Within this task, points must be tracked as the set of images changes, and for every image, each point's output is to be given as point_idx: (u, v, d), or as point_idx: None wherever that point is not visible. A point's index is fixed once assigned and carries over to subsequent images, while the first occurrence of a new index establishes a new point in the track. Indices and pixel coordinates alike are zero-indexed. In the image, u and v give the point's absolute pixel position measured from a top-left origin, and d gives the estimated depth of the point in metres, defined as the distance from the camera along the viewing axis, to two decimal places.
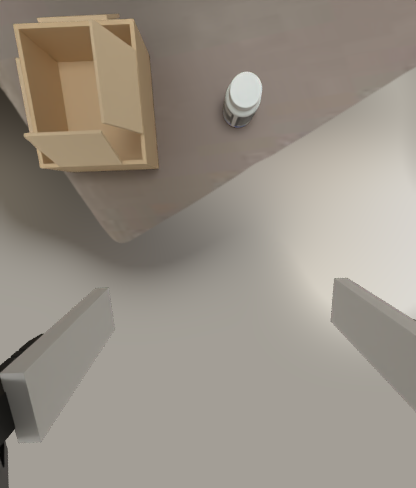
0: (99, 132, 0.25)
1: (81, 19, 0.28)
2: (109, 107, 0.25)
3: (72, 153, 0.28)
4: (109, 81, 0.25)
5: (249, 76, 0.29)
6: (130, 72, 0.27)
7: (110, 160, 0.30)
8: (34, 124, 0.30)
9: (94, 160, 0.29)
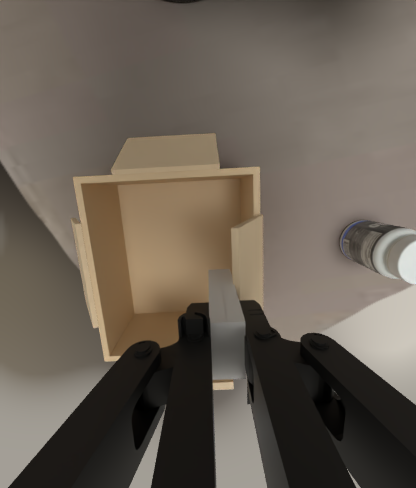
0: (231, 387, 0.15)
1: (179, 169, 0.18)
2: None
3: None
4: None
5: None
6: (259, 254, 0.17)
7: None
8: (99, 307, 0.20)
9: None
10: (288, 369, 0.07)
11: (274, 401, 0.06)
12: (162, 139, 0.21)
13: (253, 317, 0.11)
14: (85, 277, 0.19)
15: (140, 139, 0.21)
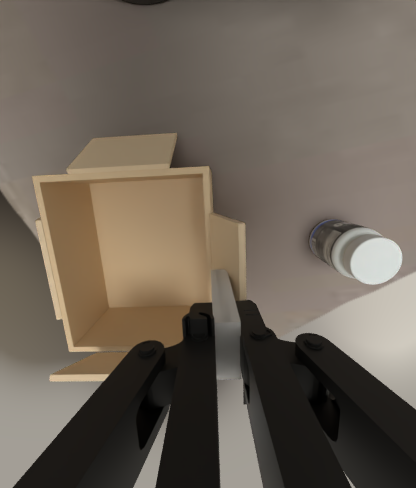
0: None
1: (130, 169, 0.18)
2: None
3: None
4: None
5: (384, 244, 0.19)
6: None
7: None
8: (61, 300, 0.21)
9: None
10: (284, 369, 0.07)
11: (270, 402, 0.06)
12: (124, 139, 0.22)
13: (248, 318, 0.11)
14: (47, 271, 0.20)
15: (104, 139, 0.22)
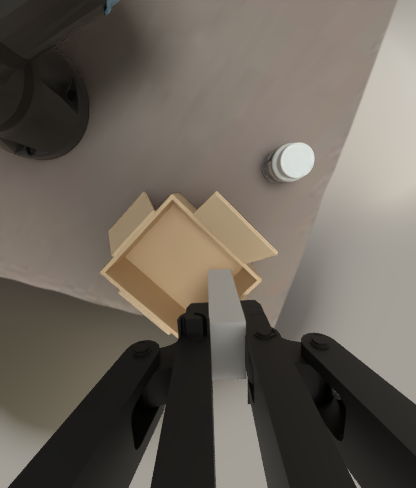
0: None
1: (139, 228, 0.30)
2: None
3: None
4: None
5: (292, 148, 0.27)
6: None
7: None
8: (162, 323, 0.33)
9: None
10: (288, 369, 0.07)
11: (274, 401, 0.06)
12: (123, 218, 0.34)
13: (253, 317, 0.11)
14: (144, 313, 0.32)
15: (113, 227, 0.34)
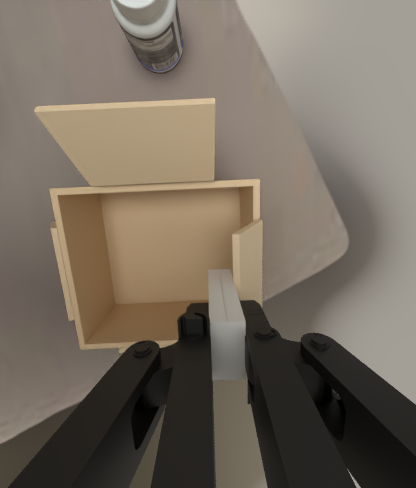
0: (237, 237, 0.13)
1: (61, 264, 0.19)
2: None
3: (253, 293, 0.17)
4: None
5: None
6: None
7: (259, 235, 0.17)
8: None
9: (259, 261, 0.18)
10: (288, 369, 0.07)
11: (274, 401, 0.06)
12: None
13: (253, 317, 0.11)
14: None
15: None
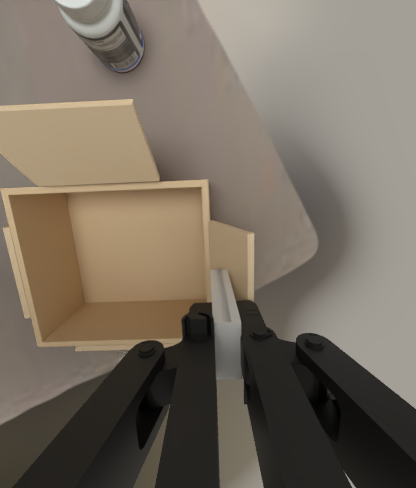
0: (252, 235, 0.13)
1: (15, 263, 0.20)
2: None
3: None
4: None
5: None
6: None
7: None
8: None
9: None
10: (284, 369, 0.07)
11: (270, 402, 0.06)
12: None
13: (249, 317, 0.11)
14: (123, 348, 0.21)
15: None
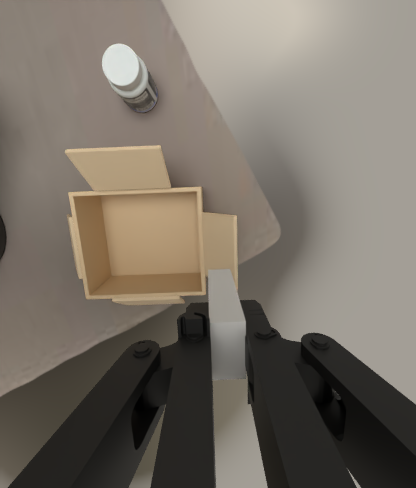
0: (236, 216, 0.24)
1: (75, 240, 0.30)
2: None
3: None
4: None
5: (106, 60, 0.25)
6: None
7: None
8: (166, 294, 0.32)
9: None
10: (288, 369, 0.07)
11: (274, 401, 0.06)
12: (72, 247, 0.34)
13: (253, 317, 0.11)
14: (144, 299, 0.32)
15: None
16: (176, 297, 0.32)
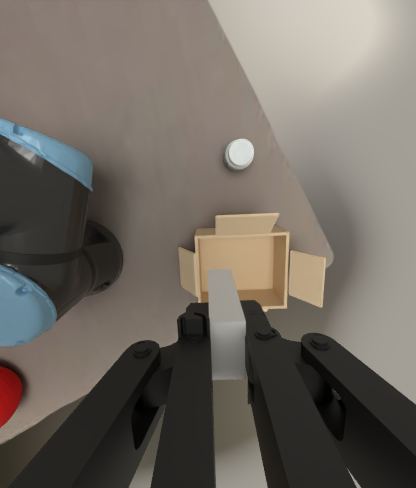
0: (325, 258, 0.35)
1: (195, 269, 0.41)
2: None
3: None
4: None
5: (232, 149, 0.37)
6: None
7: None
8: None
9: None
10: (288, 369, 0.07)
11: (274, 402, 0.06)
12: (181, 271, 0.46)
13: (253, 317, 0.11)
14: None
15: (181, 281, 0.47)
16: (265, 310, 0.43)
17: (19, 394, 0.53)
